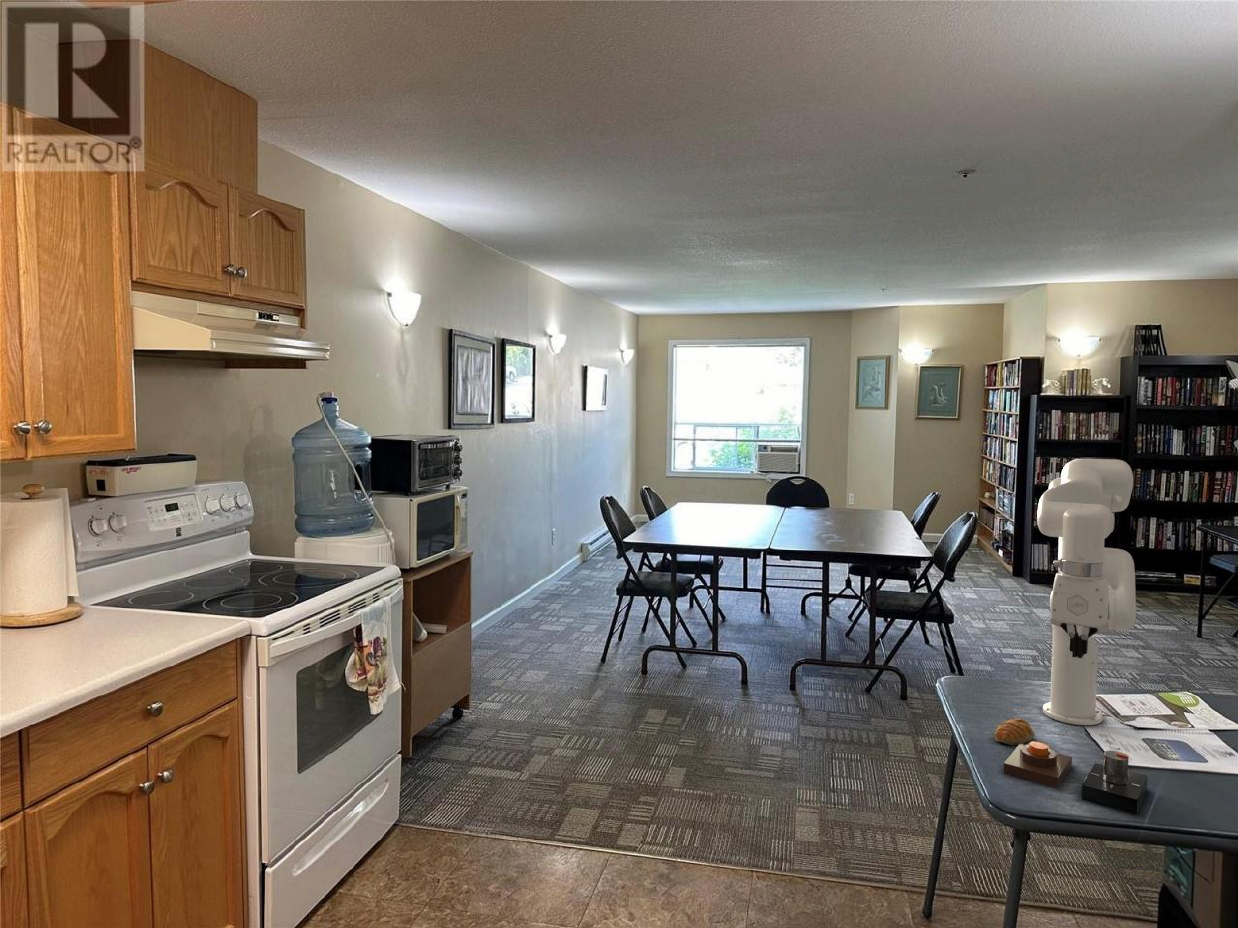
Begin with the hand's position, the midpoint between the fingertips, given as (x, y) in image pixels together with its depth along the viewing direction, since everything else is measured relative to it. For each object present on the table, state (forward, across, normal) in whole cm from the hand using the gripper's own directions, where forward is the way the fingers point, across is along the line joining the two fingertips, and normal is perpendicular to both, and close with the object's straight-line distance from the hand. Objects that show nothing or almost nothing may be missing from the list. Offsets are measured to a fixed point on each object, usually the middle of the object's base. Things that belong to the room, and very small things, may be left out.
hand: (1078, 655), depth 169 cm
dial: (+20, +9, -10) cm, 24 cm away
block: (+23, -5, -8) cm, 25 cm away
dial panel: (+23, +9, -10) cm, 27 cm away
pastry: (+23, -13, +5) cm, 27 cm away
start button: (+19, -5, -8) cm, 22 cm away
